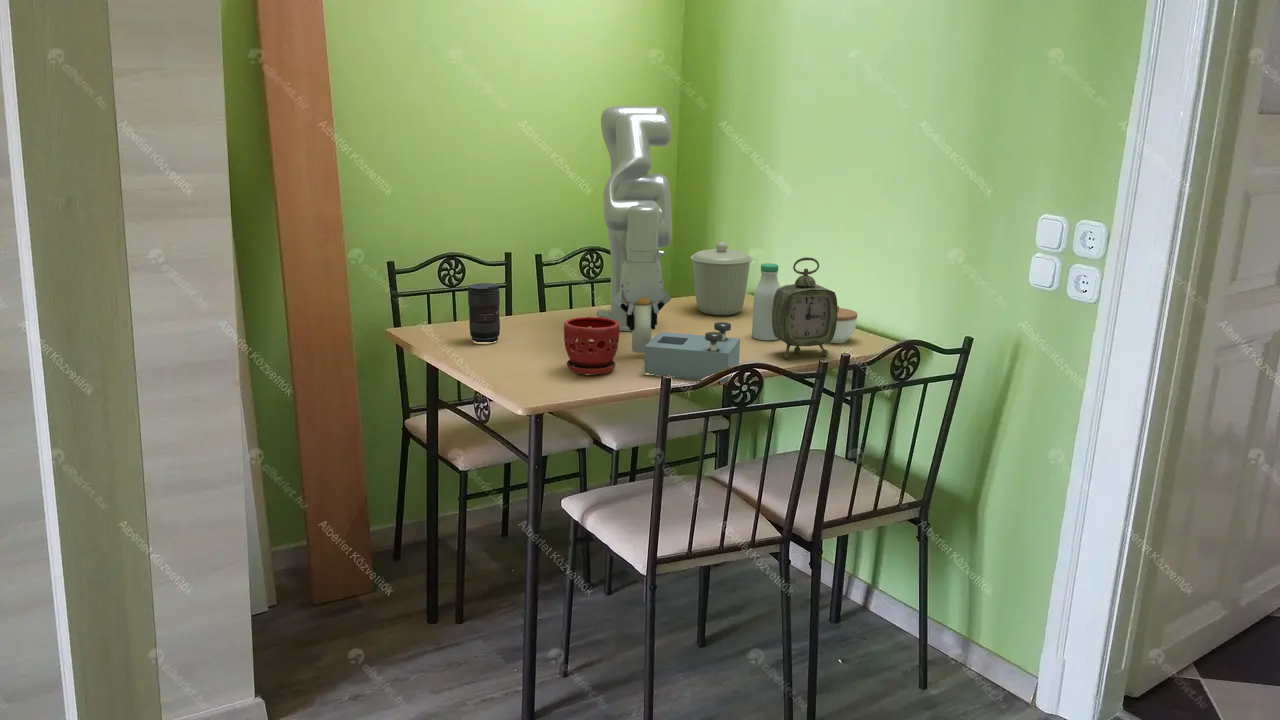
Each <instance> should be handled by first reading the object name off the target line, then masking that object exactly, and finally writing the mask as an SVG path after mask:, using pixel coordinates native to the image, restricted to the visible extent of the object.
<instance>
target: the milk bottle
mask: <svg viewBox="0 0 1280 720" xmlns="http://www.w3.org/2000/svg"><path fill="white" fill-rule="evenodd" d="M760 273H761V276H760V279H759V281H758V284H757V286H756V288H755V291H754V295H753V302H752V303H753V307H752V323H751V324H752V326H751V327H752V328H751V330H752V331H751V336H752V337H753V339H755V340H759V341H770V342H771V341H777V340H779V339H778V338H777V337H775V335H774V333H773V328H772V308H773V300H774V296H775V293H776V291H777V289H778V288H780V287H781V285H780V282H779V278H778V274H779V265H778V264H777V263H772V262H771V263H770V262H767V263H766V262H765V263H761V265H760Z"/></svg>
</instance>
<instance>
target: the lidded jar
mask: <svg viewBox="0 0 1280 720" xmlns="http://www.w3.org/2000/svg"><path fill="white" fill-rule="evenodd" d="M857 318H858V312H856V311H854V310H853V309H849V308H843V307H840V306H839V305H837V323H836V330H835V334H834V337H833V339H832V341H830V342H828V343H829V344H844V343H846V342H847V341H848V340H849V339H850V338H851V337H852V336H853V334H854V332H855V330H856V326H857Z"/></svg>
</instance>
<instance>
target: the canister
mask: <svg viewBox="0 0 1280 720" xmlns="http://www.w3.org/2000/svg"><path fill="white" fill-rule="evenodd" d="M728 247H729V245H728V243H727V242H726V241H717V243H716V244H715V248H711V249H710V248H709V249H704V250H699V251H697V252H695V253H694V254H692V255H690V260H691V262H692V267H693V279H694V280H693V281H694V290H695V302H696V306H697V308H698V310H699V311H700V312H701V313H703V314H706V315H711V316H720V317H721V316H732V315H736V314H738V313H740V312H741V311H742V309H743V307H744V303H745V297H746V292H747V287H748V286H747V285H748V281H749V280H748V278H749V272H750V265H751V262H752V261H753V256H751V255H749V254H748V253H747V252H744V251H741V250H738V249H737V250H735V249H728Z"/></svg>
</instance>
